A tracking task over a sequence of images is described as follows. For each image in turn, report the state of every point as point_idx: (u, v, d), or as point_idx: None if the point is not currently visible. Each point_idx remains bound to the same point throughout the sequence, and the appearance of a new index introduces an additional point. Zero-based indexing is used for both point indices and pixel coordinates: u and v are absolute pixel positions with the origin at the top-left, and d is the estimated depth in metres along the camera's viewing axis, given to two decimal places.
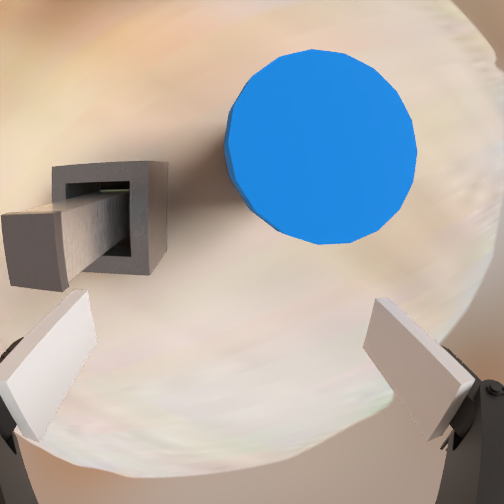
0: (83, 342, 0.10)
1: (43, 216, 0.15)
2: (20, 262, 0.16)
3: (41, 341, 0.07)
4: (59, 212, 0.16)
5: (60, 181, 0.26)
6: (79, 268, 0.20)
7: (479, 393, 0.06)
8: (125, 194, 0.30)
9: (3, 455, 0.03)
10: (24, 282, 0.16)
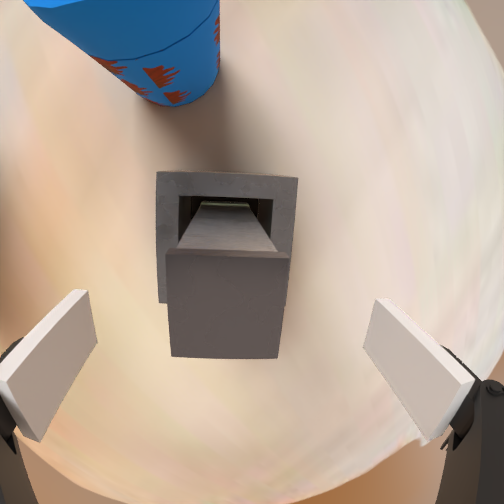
0: (83, 342, 0.10)
1: (170, 274, 0.12)
2: (241, 331, 0.14)
3: (41, 341, 0.07)
4: (170, 249, 0.13)
5: None
6: (266, 242, 0.16)
7: (479, 393, 0.06)
8: (200, 208, 0.27)
9: (3, 455, 0.03)
10: (273, 330, 0.14)
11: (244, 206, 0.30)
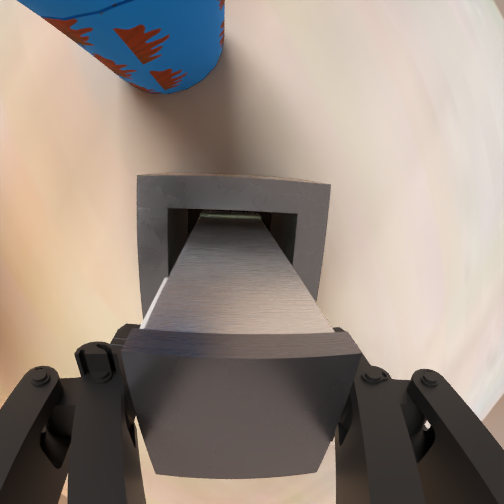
0: None
1: (135, 382, 0.06)
2: (265, 453, 0.07)
3: None
4: (133, 332, 0.06)
5: None
6: (304, 299, 0.09)
7: (353, 384, 0.07)
8: (197, 224, 0.20)
9: (128, 451, 0.05)
10: (316, 447, 0.07)
11: (255, 219, 0.24)
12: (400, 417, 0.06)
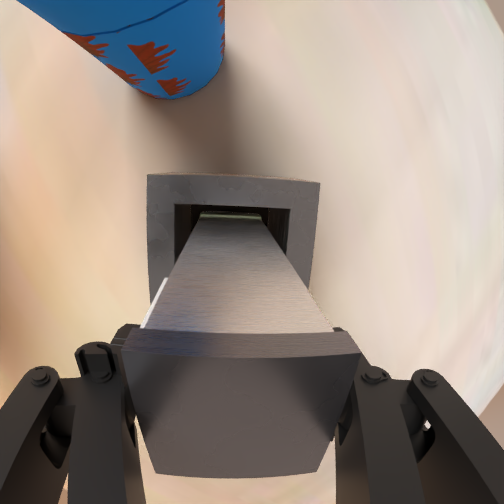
0: None
1: (135, 381, 0.06)
2: (265, 453, 0.07)
3: None
4: (133, 331, 0.06)
5: None
6: (304, 299, 0.09)
7: (353, 383, 0.07)
8: (198, 224, 0.20)
9: (128, 452, 0.05)
10: (316, 447, 0.07)
11: (255, 219, 0.24)
12: (400, 417, 0.06)
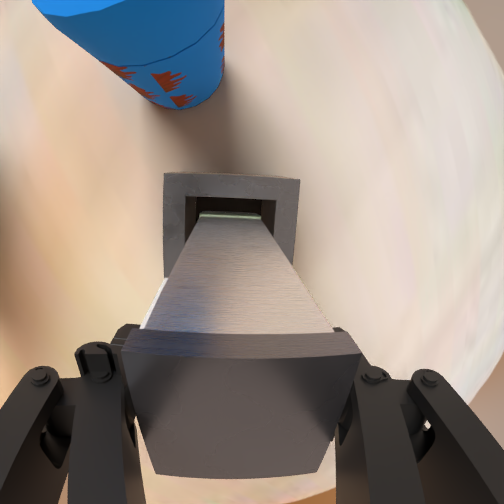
0: None
1: (135, 382, 0.06)
2: (265, 453, 0.07)
3: None
4: (133, 332, 0.06)
5: None
6: (304, 299, 0.09)
7: (353, 383, 0.07)
8: (197, 224, 0.20)
9: (128, 452, 0.05)
10: (316, 447, 0.07)
11: (255, 219, 0.24)
12: (400, 417, 0.06)
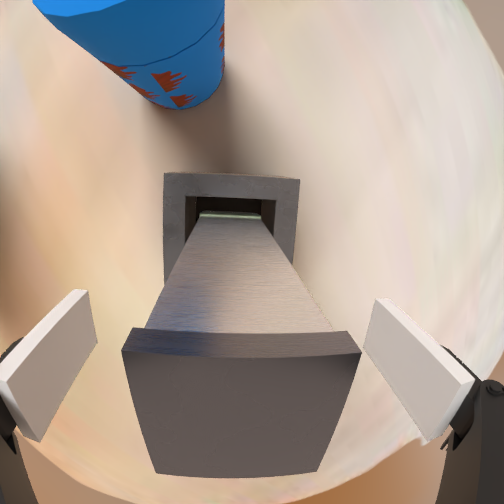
0: (83, 342, 0.10)
1: (135, 381, 0.06)
2: (265, 452, 0.07)
3: (41, 341, 0.07)
4: (133, 332, 0.06)
5: None
6: (304, 299, 0.09)
7: (479, 393, 0.06)
8: (198, 224, 0.20)
9: (3, 455, 0.03)
10: (316, 446, 0.07)
11: (255, 219, 0.24)
12: None
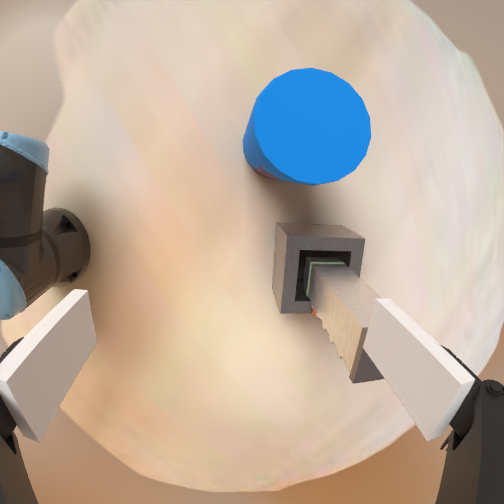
0: (83, 342, 0.10)
1: None
2: None
3: (41, 341, 0.07)
4: (363, 328, 0.22)
5: (292, 305, 0.43)
6: None
7: (479, 393, 0.06)
8: (319, 272, 0.37)
9: (3, 455, 0.03)
10: None
11: (343, 265, 0.40)
12: None
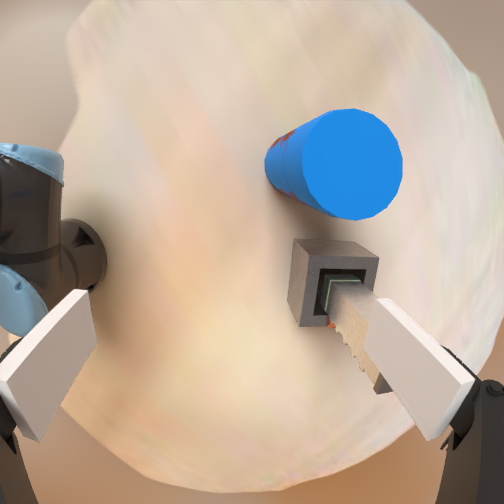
0: (83, 342, 0.10)
1: None
2: None
3: (41, 341, 0.07)
4: None
5: (310, 319, 0.45)
6: None
7: (479, 393, 0.06)
8: (340, 290, 0.39)
9: (3, 455, 0.03)
10: None
11: (359, 282, 0.42)
12: None
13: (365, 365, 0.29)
